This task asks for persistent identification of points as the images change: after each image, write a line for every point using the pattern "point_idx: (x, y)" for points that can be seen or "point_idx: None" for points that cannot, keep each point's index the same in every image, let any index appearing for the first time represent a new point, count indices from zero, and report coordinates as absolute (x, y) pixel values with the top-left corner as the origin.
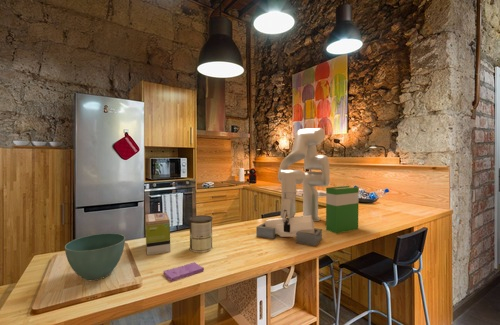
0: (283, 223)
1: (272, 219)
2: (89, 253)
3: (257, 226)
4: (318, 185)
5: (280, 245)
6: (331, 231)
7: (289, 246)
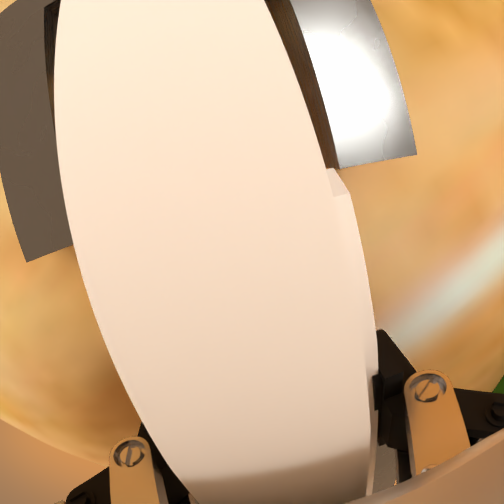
0: (112, 449)
1: (146, 27)
2: None
3: (12, 4)
4: None
5: (53, 358)
6: (494, 392)
7: (94, 406)
